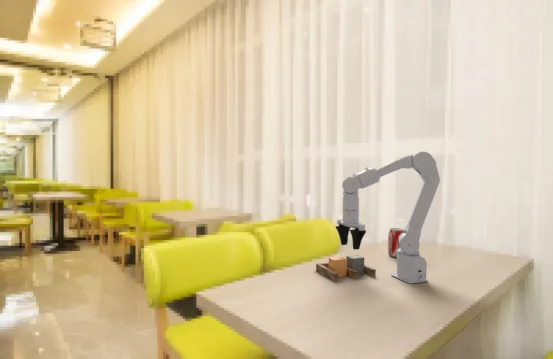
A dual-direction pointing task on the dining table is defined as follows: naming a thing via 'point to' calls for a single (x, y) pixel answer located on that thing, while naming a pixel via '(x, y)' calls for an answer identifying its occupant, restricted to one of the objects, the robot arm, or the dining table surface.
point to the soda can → (393, 241)
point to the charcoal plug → (356, 263)
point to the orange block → (338, 265)
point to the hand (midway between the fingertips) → (350, 246)
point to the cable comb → (325, 270)
